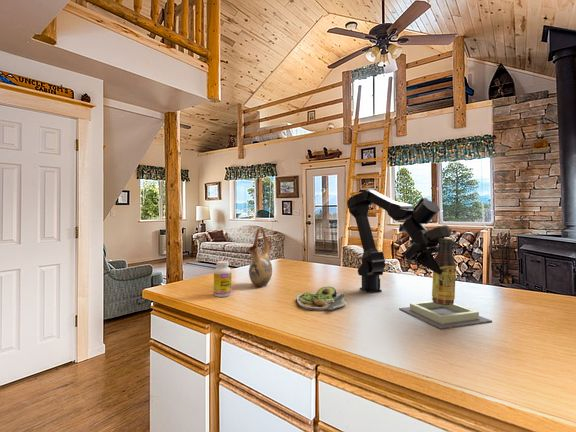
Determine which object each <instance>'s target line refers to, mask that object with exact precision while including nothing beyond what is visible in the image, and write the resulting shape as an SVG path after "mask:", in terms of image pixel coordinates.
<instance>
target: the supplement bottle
mask: <svg viewBox="0 0 576 432" xmlns="http://www.w3.org/2000/svg"><path fill="white" fill-rule="evenodd" d="M229 265H230V262H229V261H227V260H219V261H216V268H215V269H214V270H213V295H214V297H217V298H224V297H225V298H226V297H230V296H231V295H232V291H233V290H232V288H233V287H232V269H231V268H230V267H229Z"/></svg>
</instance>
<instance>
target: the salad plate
mask: <svg viewBox="0 0 576 432" xmlns="http://www.w3.org/2000/svg"><path fill="white" fill-rule="evenodd" d="M345 296H346V294H343V293H341V294H339V293H337V290H336V288H335V287H334V286H323V287H320V288H319V289H318V290H317V291H316V293H314V292H313V293H311V292H306V293H300V294H299V295H298V294H297V296H296V297H295V300H296V302H297V304H298V305H299V306H300V307H301V308H303V309H304V310H307V311H308V310H309V311H333V310H337V309H340V308H342V307H344V306H346V304H347V302H346V301H345V299H344V298H345ZM305 304H306V305H305ZM309 305H314V306H309Z"/></svg>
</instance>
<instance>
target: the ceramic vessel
mask: <svg viewBox="0 0 576 432" xmlns="http://www.w3.org/2000/svg"><path fill="white" fill-rule="evenodd" d="M260 232H261V233H262V240H263V245H264V247H263V249H262V252H261V254H260V253H259V249H258V248H259V247H258V242H259V234H260ZM272 247H273V245H272V244H271V242H270V241H269V239H268V237H267V235H266V232H265V230H264V228H263V227H259V228H258V229H257V230H256V232H255V237H254V241H253V244H252V246H249V248H247V250H248V252H249V253H250V255H251V262H250V263H249V269H248V274H249V275H248V276H249V279H250V282H251V283H252V284H253V285H254V286H255V287H257V288H262V287H265V286H267V285H268V283H269V282H270V280H271V279H272V275H273V265H272V262H271V260H270V252H271V249H272Z"/></svg>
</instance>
